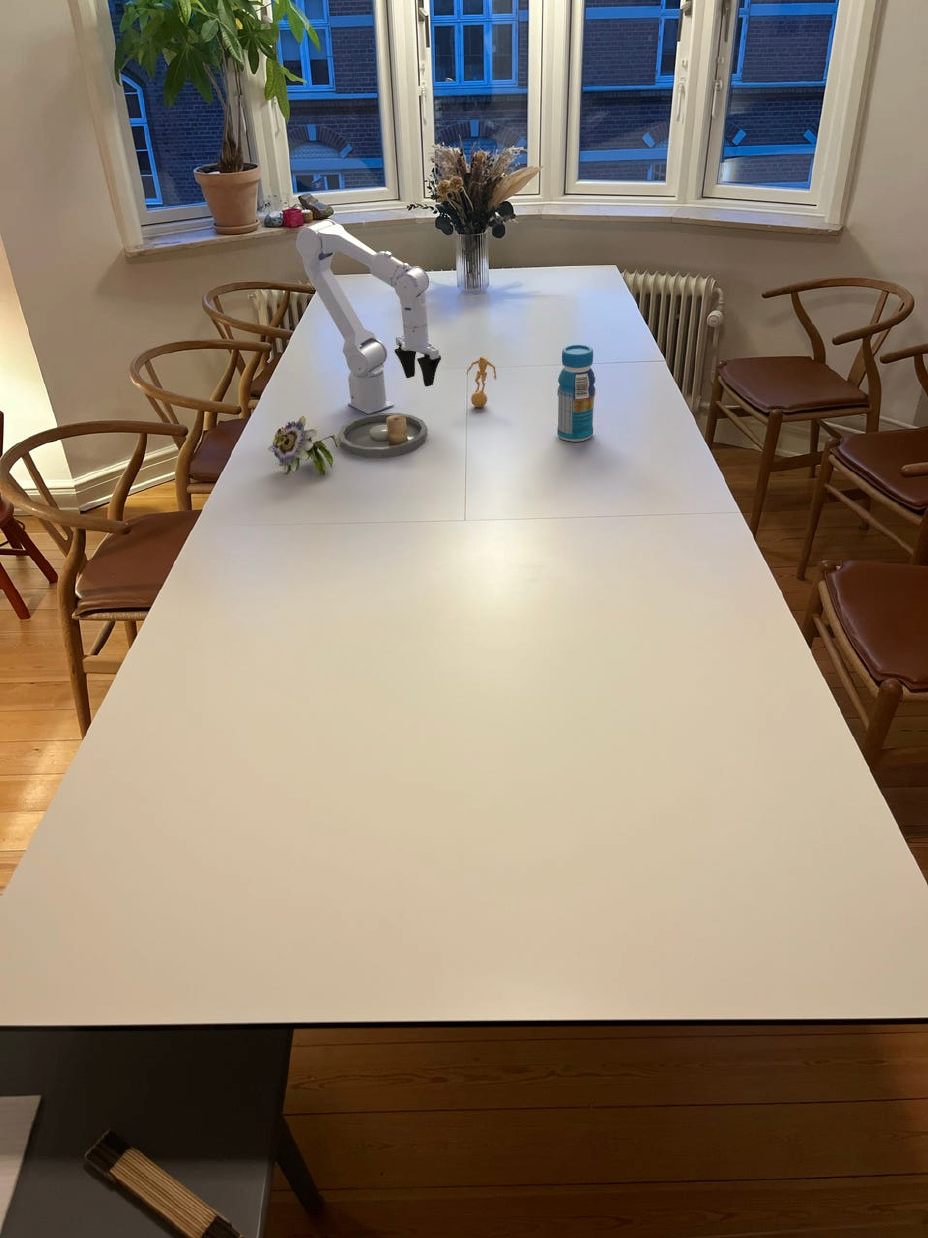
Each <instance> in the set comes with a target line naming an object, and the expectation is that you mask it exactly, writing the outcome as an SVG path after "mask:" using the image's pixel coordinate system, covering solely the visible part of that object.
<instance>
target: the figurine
mask: <svg viewBox="0 0 928 1238" xmlns="http://www.w3.org/2000/svg"><path fill="white" fill-rule="evenodd" d="M476 364H477V365H478V367H479V370H477V372H476V377H475V379H474V382H475V383H476V385H477V387H476V389H475V391H474V392H473V393H472V395H471V396H470V400H471V404H472V405H473V406H474V407H476V408H483V407H484V406H485V405H486V404H487V401H488V395H487V393H485V392H484V390H485V385H486V382H485V381H486V379H487V375H488V372H487V371H486V370H487V367H488V366H490V367H491V368H492V370H493V374H494V376H493V380H497V373H496V372H497V371H496V366H495V365H494V364H493V363H492V362H490V360H489V359H488V358H487V357H485V356H484V357H483V356H480V357H479V359H477V360H476V361H473V362H472V363H471V365H470V366H469V367H468V369H467V371H466V376H467V375H468V373H469V371H470V370H471V369H472V368H473V367H474V365H476ZM479 380H481V382H479ZM480 384H482V388H481V390H480Z"/></svg>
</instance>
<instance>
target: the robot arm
mask: <svg viewBox="0 0 928 1238" xmlns="http://www.w3.org/2000/svg"><path fill="white" fill-rule="evenodd" d="M295 248H296V249H297V252H298V253H299V255H300V257H301V259H302V265H303V268H304V271H305V274H306V276H307V278H308V279H309V281H310V283H311V285H312V286H313V288H314V289H315V292H316V293H317V295H318V297H319V298H320V300H321V302H322V303H323V305H324V307H325V309H326V310H327V311H328V314H329V315H330V317H331V320H332V321H333V322H334V324H335V326H336V328H337V329H338V330H339V333H340V334H341V336H342V338H343V340H344V343H343V348H342V353H343V355H344V357H345V359H346V365H347V367H348V369H349V371H350V372H349V373H348V374H349V375H348V378H347V380H348V381H347V382H348V389H349V396H350V401H347V404H348V406H351V407H353V408H354V409H357V410H359V411H361V412H363V413H364V414H365V415H371V414H375V413H376V412H379V411H382V410H385V409H388V408H391V407H394V406H395V405H394V403H393V402H391V401H388V400H387V396H386V395H387V394H386V384H385V383H386V382H385V375H384V368H385V364H384V363H386V362H387V359H388V350H387V347H386V346H385V344H384V343H383V342H382V341H380V340H379V339H378V338H377V336H376V335H375V332H373V331H371V330H368V329H366V328H365V327H364V325H363V324H362V322H361V320H360V319H359V317H358V315H357V312H355V310H354V308H353V306H352V304H351V302H350V300H349V299H348V297H347V296H346V294H345V292H344V291H343V288H342V287H341V285H340V283H339V281H338V280H337V278H336V276H335V274H334V273H333V271H332V270H331V264H332V259H333V257H334V255H335V253H337V252H338V253H339V252H340V253H342V254H344V255H346V256H348V257H349V258H351V259H353V260H356V261H357V262H359V263H361V264H363V265H365V266H367V267H368V268H369V271H370V274H371V275H372V276H373V277H375V278H377V279H378V280H379V281H381V282H383V283H384V284H387V285H388V286H390V287H391V288H393V290H394V291H395V293H396V295H397V296H398V299H399V304H400V306H401V307H400V309H401V320H402V330H403V335H398V336H395V343H396V344H395V345H396V346H398V348H395V349H394V353H395V355H396V356H397V358H398V360H399V362H400V365H401V366H402V369H403V372H404V375H405V378H406V379H410V378H413V377H415V374H416V361H417V363H418V364H419V368H420V369H421V373H422V380H423V384H424V387H431V386H433V385H434V382H435V376H436V372H437V368H438V365H439V363H440V362H441V360H442V356H441V355H440V351H439V349H438V348H437V347H435V346H434V345H433V344H432V343H431V342H430V341H429V327H428V312H427V299H426V298H427V296H426V295H427V294H426V291H427V290H428V288H429V285H430V278H429V275H428V273H427V272H426V271H425V270H424V269H423V268H422V267H421V266H418V265H416V266H411V265H410V264H408V263H407V262H405V263H404V262H402V261H401V260H399V259H398V258H396V257H394V256H393V253H392V252H391V251H388V250H387V251H383V250H381V251H379V252H376V251H374V250H373V249H372V248H370V247H368V246H367V245H365V244H364V243H363V242H361V241H360V240H359V239H357V238H355V237H354V236H353V235H351V234H350V233H348V232H347V231H346V230H345V229H344V226H343V225H341V224H339V223H336V222H335V221H334V220H332V219H328V218H327V219H323V220H321V221H320V222H317V223H315V224H312V225H309V226H305V227H302V228H300V230H299V231H298V233H297V236H296V241H295ZM417 353H419V354H421V355H423V356H421V357H418V358H416V356H417Z"/></svg>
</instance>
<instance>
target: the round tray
mask: <svg viewBox="0 0 928 1238" xmlns="http://www.w3.org/2000/svg"><path fill="white" fill-rule="evenodd" d="M392 415H403V416H405V417H406V426H407V436H408V441H407V442H404V443H401V444H398V445H392V446H390V445H389V440H388V431H387V421H386V419H387V418H388V417H389V416H392ZM428 435H429V434H428V426H427V425H426V423H425V421H424V420H423V419H421V418H419V417H417V416H415V415H411V414H408V413H402V412H378V413H371V414H365V415H362V416H360V417H358V418H353V419H351V420H350V421H348V422H347V423H345V424H344V425H342V426H341V427H340V429H339V431H338V433H337V437H338V444H339V446H340V448H341V449H342V450H343V451H345V452H347V453H348V454H350V455H353V456H358V457H363V458H383V459H384V458H389V457H394V456H395V457H396V456H401V455H404V454H407V453H410V452H412V451H415V450H417V449H418V448H420V447H421V446H422V445H424V444H425V443H426V441H427V437H428Z"/></svg>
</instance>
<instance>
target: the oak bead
mask: <svg viewBox="0 0 928 1238" xmlns="http://www.w3.org/2000/svg"><path fill="white" fill-rule="evenodd" d="M386 421H387V431H388V440H389V445H390V446H392V445H398V444H401V443H404V442H407V441H408V436H407V426H406V417H405V416H403V415H392V416H389V417H388V418H387V419H386Z"/></svg>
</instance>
